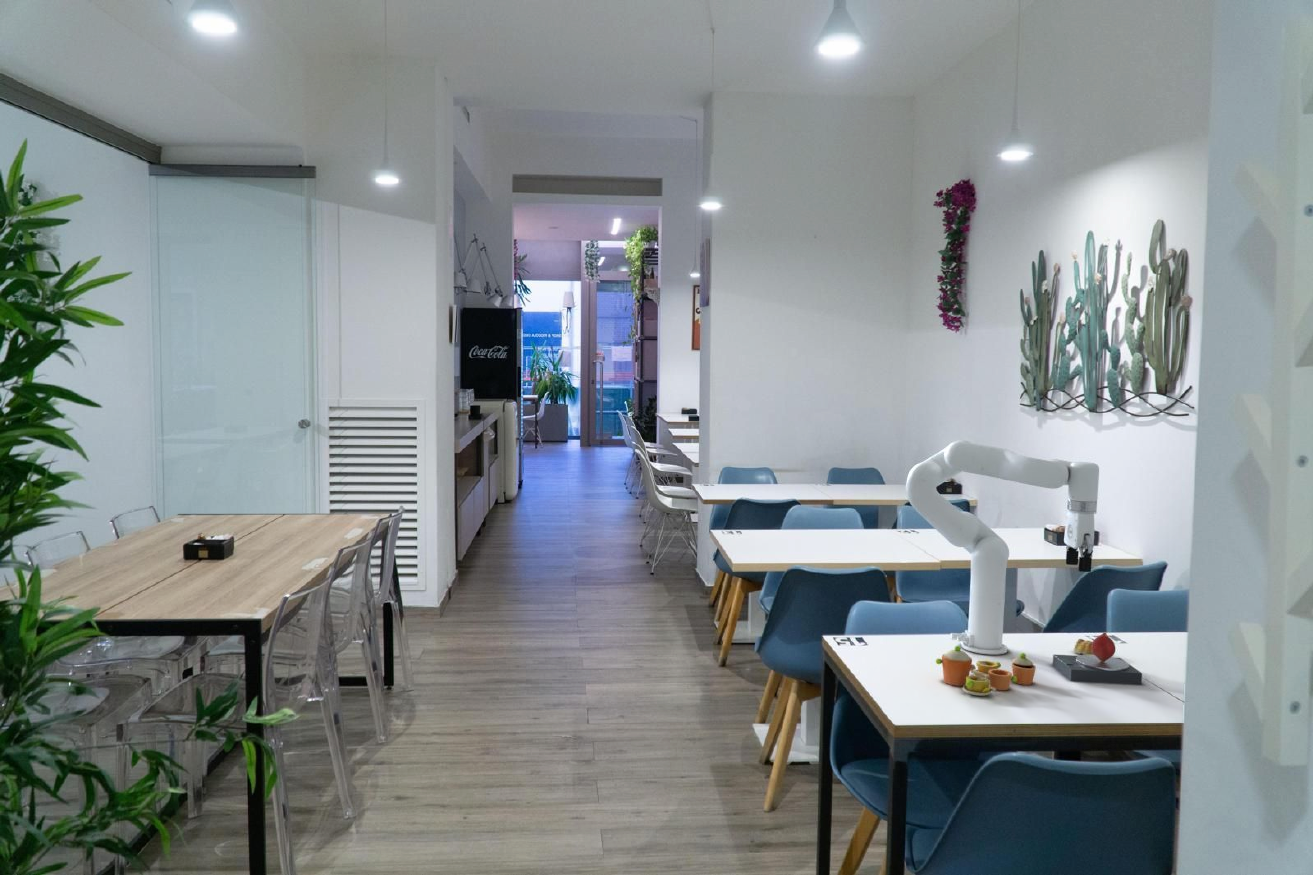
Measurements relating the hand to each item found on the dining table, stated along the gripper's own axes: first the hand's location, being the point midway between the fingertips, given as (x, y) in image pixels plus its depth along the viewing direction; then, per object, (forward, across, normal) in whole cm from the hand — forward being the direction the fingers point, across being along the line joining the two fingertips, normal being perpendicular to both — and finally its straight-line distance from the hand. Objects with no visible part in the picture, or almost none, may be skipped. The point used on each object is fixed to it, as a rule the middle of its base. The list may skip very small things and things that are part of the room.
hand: (1078, 568), depth 275 cm
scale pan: (+23, +12, +4) cm, 26 cm away
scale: (+26, +12, +2) cm, 29 cm away
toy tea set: (+26, +25, -30) cm, 47 cm away
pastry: (+26, -8, +8) cm, 29 cm away
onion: (+23, +12, +4) cm, 26 cm away
